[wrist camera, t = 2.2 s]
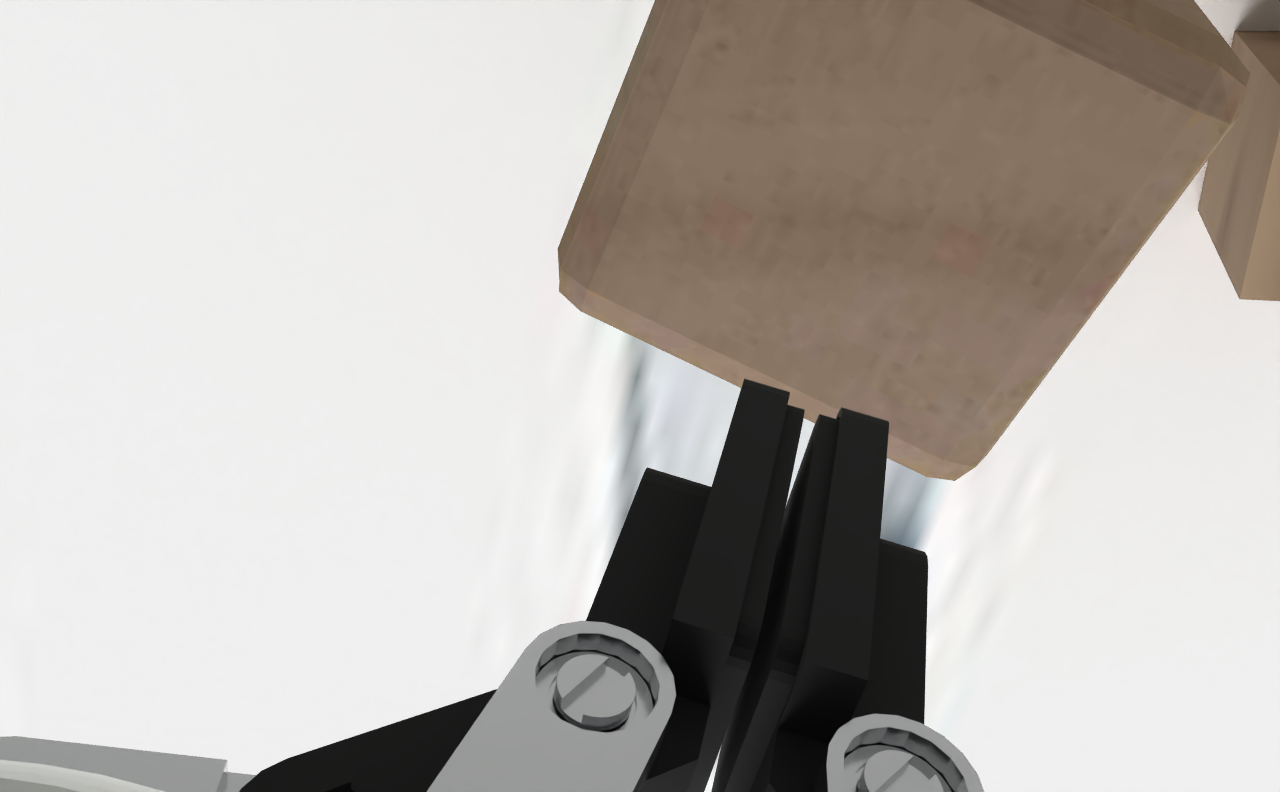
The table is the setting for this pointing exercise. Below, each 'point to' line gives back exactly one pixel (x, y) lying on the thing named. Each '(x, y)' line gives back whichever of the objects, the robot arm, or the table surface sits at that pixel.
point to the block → (892, 194)
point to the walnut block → (1249, 176)
